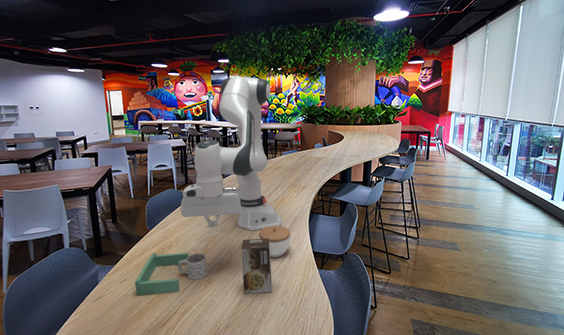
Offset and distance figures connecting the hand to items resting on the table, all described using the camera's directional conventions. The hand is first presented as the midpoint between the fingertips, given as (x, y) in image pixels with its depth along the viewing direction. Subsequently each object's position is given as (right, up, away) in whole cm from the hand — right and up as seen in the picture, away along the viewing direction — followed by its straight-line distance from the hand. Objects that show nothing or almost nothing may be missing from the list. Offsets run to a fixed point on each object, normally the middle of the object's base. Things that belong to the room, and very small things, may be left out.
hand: (213, 226), depth 103 cm
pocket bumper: (-17, -19, +2) cm, 25 cm away
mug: (-8, -18, +3) cm, 20 cm away
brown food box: (+16, -20, -5) cm, 26 cm away
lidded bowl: (+21, -14, +17) cm, 31 cm away
